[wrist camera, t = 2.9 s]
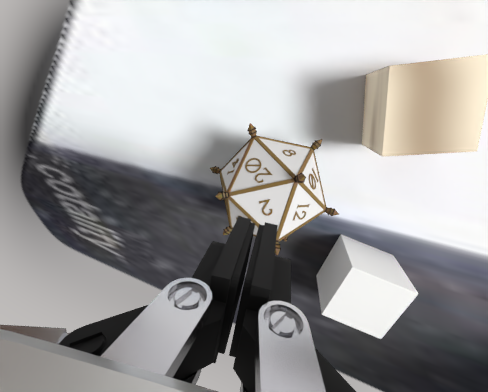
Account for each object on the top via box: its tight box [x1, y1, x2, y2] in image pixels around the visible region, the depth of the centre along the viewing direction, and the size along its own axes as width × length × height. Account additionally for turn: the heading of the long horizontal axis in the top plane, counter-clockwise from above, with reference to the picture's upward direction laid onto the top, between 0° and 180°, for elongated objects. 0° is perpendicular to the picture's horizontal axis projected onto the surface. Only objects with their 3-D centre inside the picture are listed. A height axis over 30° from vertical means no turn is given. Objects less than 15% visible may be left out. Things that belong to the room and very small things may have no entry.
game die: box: [210, 123, 338, 255], centre depth 19 cm, size 9×8×10 cm
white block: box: [316, 235, 418, 339], centre depth 22 cm, size 5×5×5 cm
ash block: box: [362, 54, 488, 156], centre depth 17 cm, size 5×5×5 cm
